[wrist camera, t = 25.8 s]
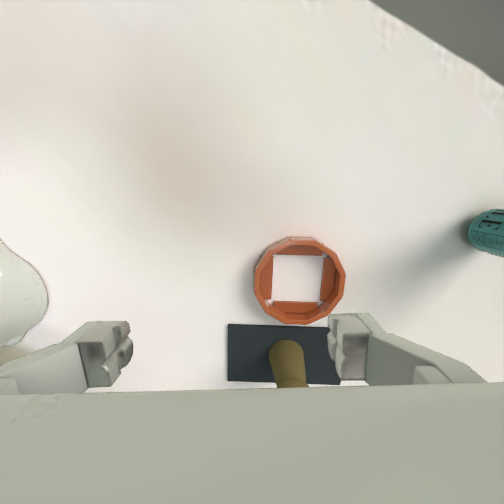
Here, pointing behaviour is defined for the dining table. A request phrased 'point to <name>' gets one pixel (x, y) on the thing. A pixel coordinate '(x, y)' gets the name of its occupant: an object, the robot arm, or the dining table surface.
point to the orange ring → (300, 310)
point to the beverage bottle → (488, 232)
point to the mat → (263, 338)
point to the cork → (288, 364)
